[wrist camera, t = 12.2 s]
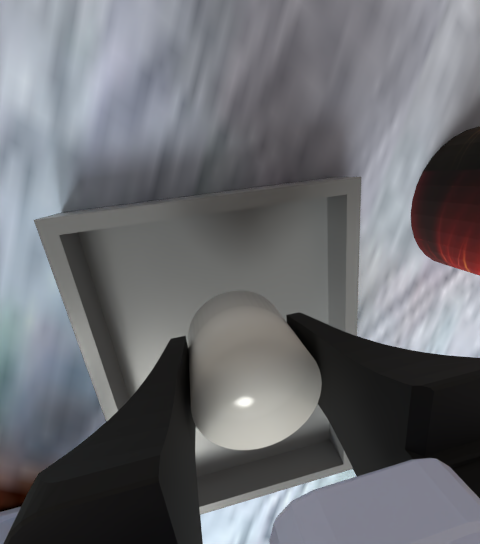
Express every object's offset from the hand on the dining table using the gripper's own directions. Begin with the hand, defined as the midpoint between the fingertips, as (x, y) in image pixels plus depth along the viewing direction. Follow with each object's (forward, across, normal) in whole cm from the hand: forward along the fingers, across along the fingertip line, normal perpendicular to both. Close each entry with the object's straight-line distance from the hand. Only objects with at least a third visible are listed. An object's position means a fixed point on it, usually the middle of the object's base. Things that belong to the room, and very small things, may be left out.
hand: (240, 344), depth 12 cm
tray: (+7, 0, +5) cm, 8 cm away
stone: (+1, 0, 0) cm, 1 cm away
